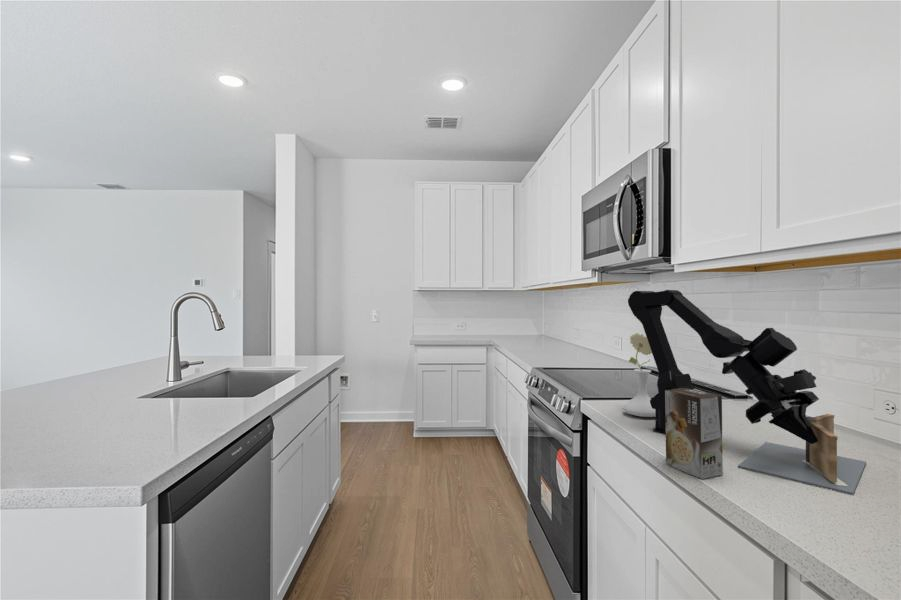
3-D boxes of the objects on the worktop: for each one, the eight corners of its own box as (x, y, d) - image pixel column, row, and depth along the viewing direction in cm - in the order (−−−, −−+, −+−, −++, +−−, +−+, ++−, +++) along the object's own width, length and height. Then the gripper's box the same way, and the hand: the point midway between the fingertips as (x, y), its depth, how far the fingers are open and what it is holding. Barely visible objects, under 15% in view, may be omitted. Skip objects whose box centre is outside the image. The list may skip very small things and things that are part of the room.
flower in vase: (671, 419, 130) (670, 335, 130) (633, 420, 129) (633, 335, 129) (648, 409, 143) (648, 331, 143) (614, 409, 142) (614, 332, 142)
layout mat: (737, 467, 93) (737, 465, 93) (765, 443, 108) (765, 441, 108) (853, 495, 80) (853, 492, 80) (866, 463, 95) (866, 461, 95)
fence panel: (809, 462, 94) (809, 421, 94) (816, 462, 93) (816, 422, 93) (829, 481, 84) (829, 435, 84) (837, 482, 83) (837, 436, 83)
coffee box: (724, 475, 89) (724, 395, 89) (701, 480, 87) (701, 398, 87) (685, 460, 97) (685, 387, 97) (663, 463, 95) (663, 389, 95)
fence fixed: (804, 463, 95) (804, 417, 95) (826, 456, 100) (826, 411, 100) (813, 466, 94) (813, 418, 94) (835, 458, 98) (835, 413, 98)
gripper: (762, 359, 90) (827, 428, 80) (808, 354, 99) (872, 416, 89) (722, 390, 97) (778, 457, 87) (769, 383, 106) (824, 443, 96)
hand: (814, 442), depth 90 cm, fingers closed
